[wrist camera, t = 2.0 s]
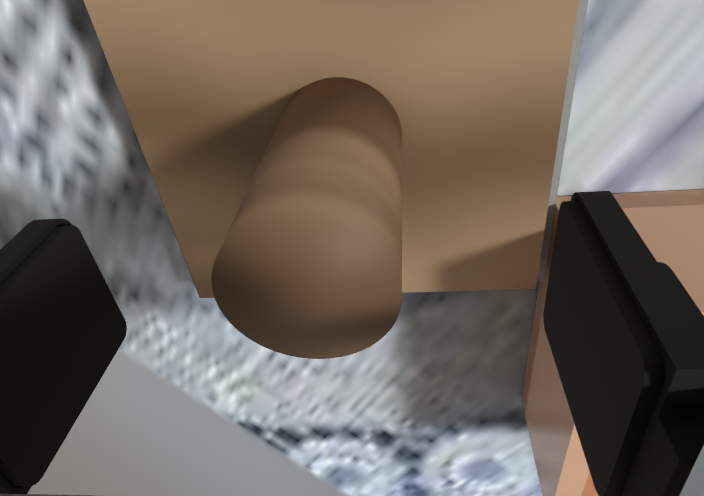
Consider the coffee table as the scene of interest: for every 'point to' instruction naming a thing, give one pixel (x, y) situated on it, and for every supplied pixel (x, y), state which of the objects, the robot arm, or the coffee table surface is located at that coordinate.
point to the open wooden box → (541, 372)
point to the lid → (344, 150)
